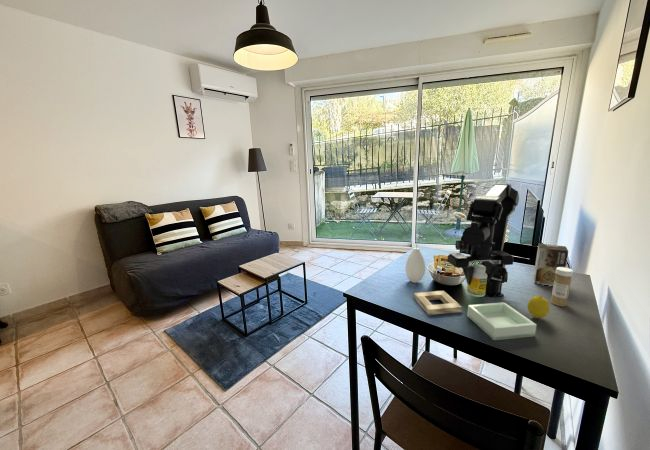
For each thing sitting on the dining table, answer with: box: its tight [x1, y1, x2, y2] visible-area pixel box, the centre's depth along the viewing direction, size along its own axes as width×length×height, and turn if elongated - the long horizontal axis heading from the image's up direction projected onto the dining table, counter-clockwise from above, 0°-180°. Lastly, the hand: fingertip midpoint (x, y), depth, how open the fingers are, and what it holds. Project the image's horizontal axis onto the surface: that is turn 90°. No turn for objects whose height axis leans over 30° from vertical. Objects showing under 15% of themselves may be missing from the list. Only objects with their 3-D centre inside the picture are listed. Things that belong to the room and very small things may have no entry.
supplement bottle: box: [466, 263, 487, 298], centre depth 90 cm, size 5×5×10 cm
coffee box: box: [532, 243, 569, 286], centre depth 113 cm, size 9×6×16 cm
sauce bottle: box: [404, 242, 426, 284], centre depth 117 cm, size 8×8×18 cm
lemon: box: [527, 295, 550, 319], centre depth 90 cm, size 6×6×8 cm
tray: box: [466, 302, 538, 341], centre depth 87 cm, size 13×13×4 cm
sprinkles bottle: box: [550, 267, 574, 307], centre depth 98 cm, size 5×5×13 cm
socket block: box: [413, 290, 463, 316], centre depth 101 cm, size 12×12×2 cm
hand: (476, 283), depth 90 cm, fingers closed on supplement bottle, 5 cm apart
